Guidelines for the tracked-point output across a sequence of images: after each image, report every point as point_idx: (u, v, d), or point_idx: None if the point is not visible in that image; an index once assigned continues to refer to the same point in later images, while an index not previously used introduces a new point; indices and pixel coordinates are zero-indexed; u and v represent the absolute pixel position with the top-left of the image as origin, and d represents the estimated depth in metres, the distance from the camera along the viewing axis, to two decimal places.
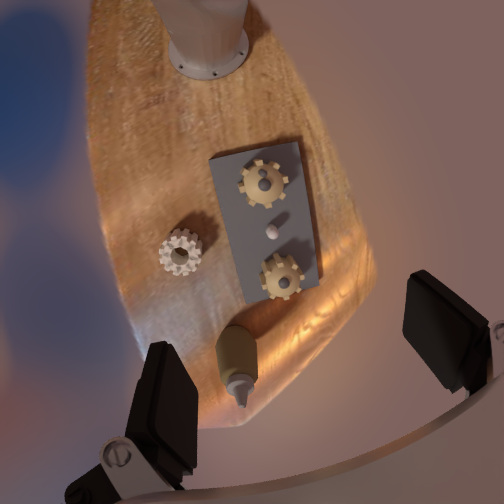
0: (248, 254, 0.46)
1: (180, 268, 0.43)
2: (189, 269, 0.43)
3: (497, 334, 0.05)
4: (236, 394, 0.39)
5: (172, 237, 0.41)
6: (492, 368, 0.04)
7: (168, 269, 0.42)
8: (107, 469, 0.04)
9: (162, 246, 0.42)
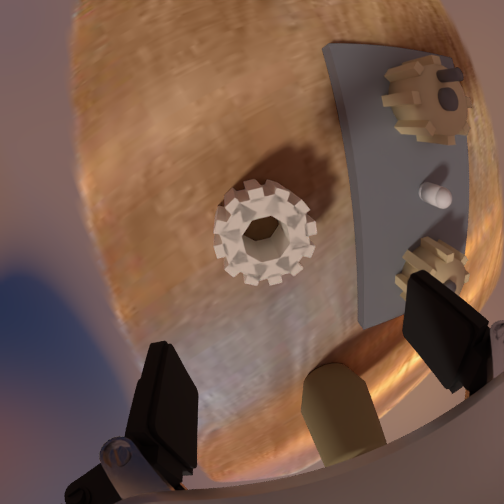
0: (387, 238, 0.21)
1: (264, 268, 0.18)
2: (285, 270, 0.19)
3: (497, 334, 0.05)
4: None
5: (253, 191, 0.16)
6: (492, 368, 0.04)
7: (235, 271, 0.18)
8: (107, 469, 0.04)
9: (221, 216, 0.18)
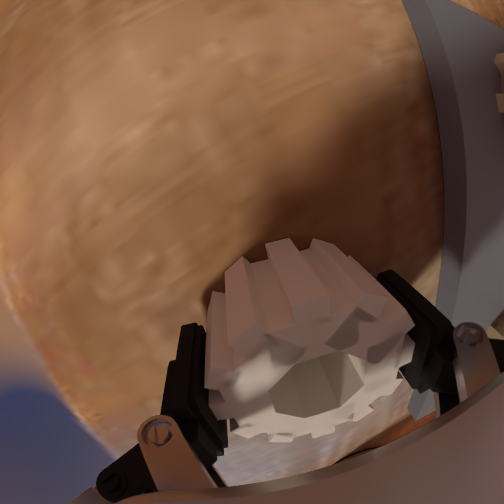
0: (476, 318, 0.11)
1: (308, 424, 0.08)
2: (344, 419, 0.08)
3: (461, 337, 0.06)
4: None
5: (304, 305, 0.06)
6: (462, 374, 0.05)
7: (251, 433, 0.08)
8: (147, 449, 0.05)
9: (219, 342, 0.07)
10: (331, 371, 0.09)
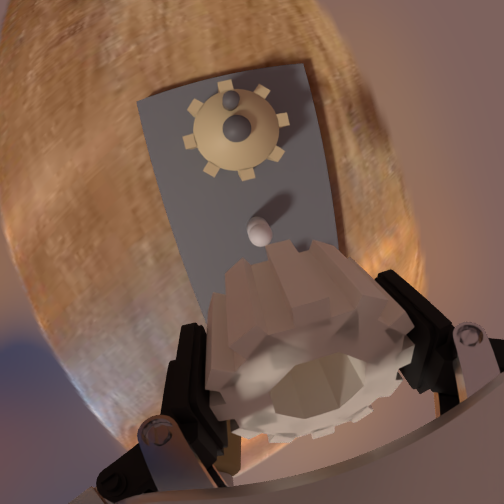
0: (217, 274, 0.24)
1: (308, 424, 0.08)
2: (344, 420, 0.08)
3: (461, 338, 0.06)
4: None
5: (304, 307, 0.06)
6: (462, 375, 0.05)
7: (252, 433, 0.08)
8: (147, 449, 0.05)
9: (220, 343, 0.07)
10: (331, 372, 0.09)
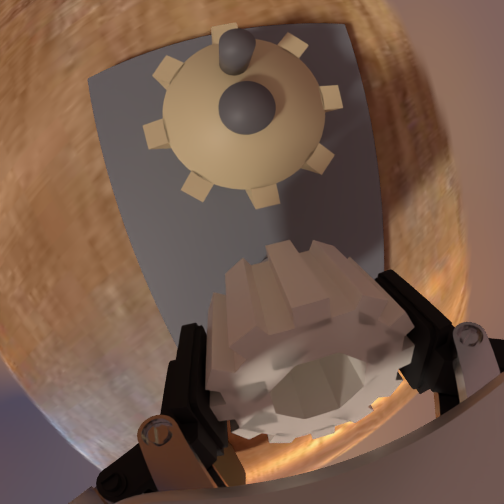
0: None
1: (308, 425, 0.08)
2: (344, 420, 0.08)
3: (461, 337, 0.06)
4: None
5: (304, 307, 0.06)
6: (462, 375, 0.05)
7: (252, 433, 0.08)
8: (147, 449, 0.05)
9: (220, 344, 0.07)
10: (331, 372, 0.09)
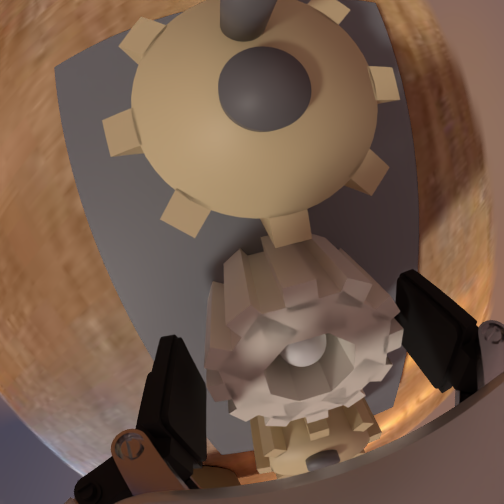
0: None
1: (302, 407, 0.09)
2: (337, 404, 0.09)
3: (486, 334, 0.05)
4: None
5: (294, 288, 0.07)
6: (482, 370, 0.04)
7: (248, 415, 0.09)
8: (119, 462, 0.04)
9: (218, 326, 0.08)
10: (324, 357, 0.10)
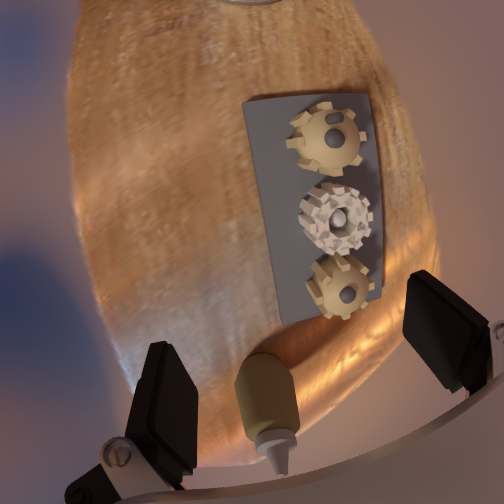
0: (294, 251, 0.30)
1: (339, 243, 0.26)
2: (352, 245, 0.26)
3: (497, 334, 0.05)
4: (272, 458, 0.22)
5: (338, 189, 0.24)
6: (492, 368, 0.04)
7: (320, 244, 0.26)
8: (107, 469, 0.04)
9: (313, 204, 0.25)
10: (345, 228, 0.27)
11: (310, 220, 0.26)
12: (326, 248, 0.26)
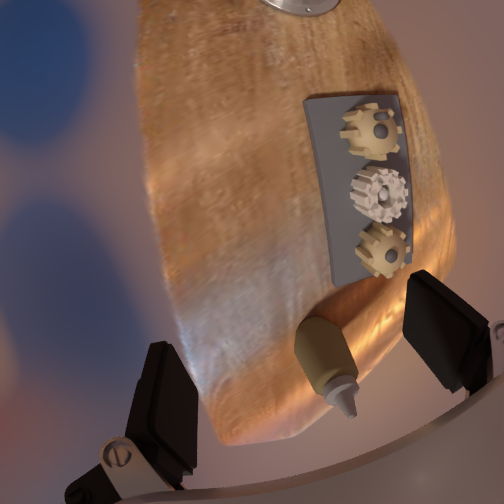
0: (346, 222, 0.35)
1: (385, 212, 0.30)
2: (394, 214, 0.31)
3: (497, 334, 0.05)
4: (342, 402, 0.28)
5: (383, 170, 0.29)
6: (492, 368, 0.04)
7: (372, 213, 0.30)
8: (107, 469, 0.04)
9: (364, 182, 0.30)
10: (387, 202, 0.32)
11: (362, 195, 0.31)
12: (375, 217, 0.31)
